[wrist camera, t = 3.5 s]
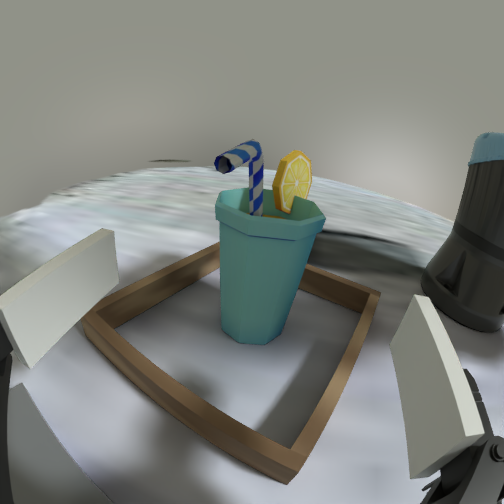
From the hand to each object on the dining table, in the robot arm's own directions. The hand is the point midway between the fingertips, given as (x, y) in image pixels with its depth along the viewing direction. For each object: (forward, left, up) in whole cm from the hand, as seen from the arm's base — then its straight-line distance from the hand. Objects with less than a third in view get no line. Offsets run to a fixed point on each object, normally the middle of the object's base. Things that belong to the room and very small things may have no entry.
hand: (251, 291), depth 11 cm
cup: (-7, -4, -10) cm, 13 cm away
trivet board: (+18, -1, -9) cm, 20 cm away
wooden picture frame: (-7, -4, -9) cm, 13 cm away
